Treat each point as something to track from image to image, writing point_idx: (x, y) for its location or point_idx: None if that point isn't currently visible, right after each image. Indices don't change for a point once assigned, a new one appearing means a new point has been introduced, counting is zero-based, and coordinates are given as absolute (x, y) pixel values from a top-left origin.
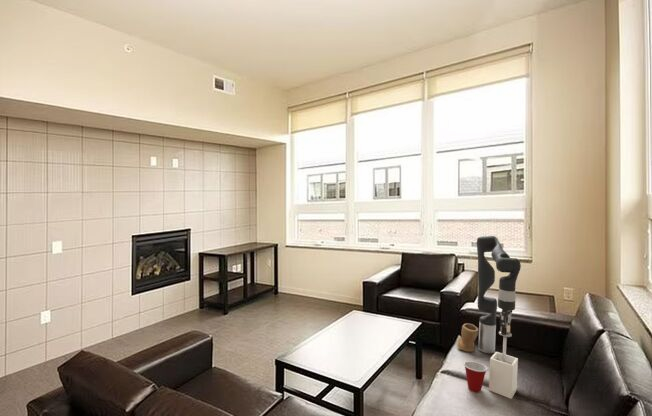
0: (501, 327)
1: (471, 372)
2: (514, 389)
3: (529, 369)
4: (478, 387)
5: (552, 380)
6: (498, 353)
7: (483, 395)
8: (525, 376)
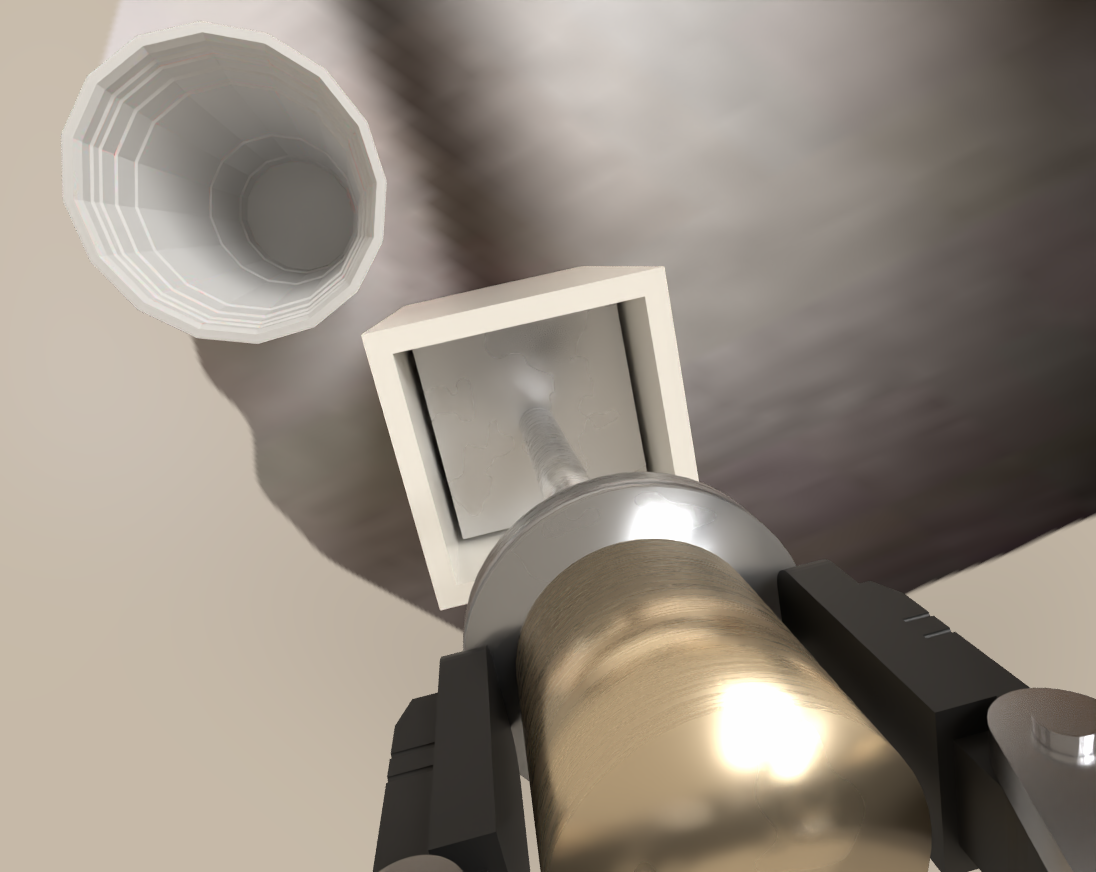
0: (427, 821)
1: (114, 215)
2: None
3: (1040, 342)
4: (260, 274)
5: (983, 521)
6: (646, 313)
7: None
8: (890, 377)
